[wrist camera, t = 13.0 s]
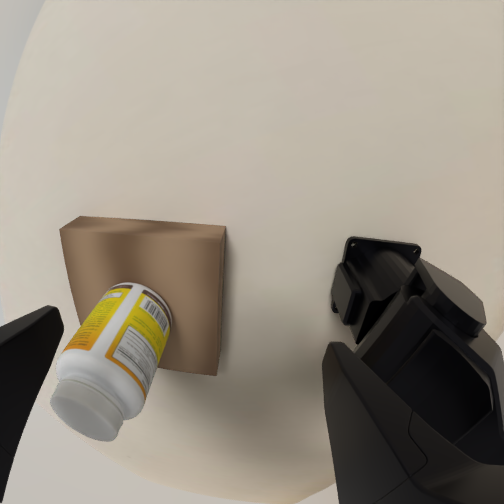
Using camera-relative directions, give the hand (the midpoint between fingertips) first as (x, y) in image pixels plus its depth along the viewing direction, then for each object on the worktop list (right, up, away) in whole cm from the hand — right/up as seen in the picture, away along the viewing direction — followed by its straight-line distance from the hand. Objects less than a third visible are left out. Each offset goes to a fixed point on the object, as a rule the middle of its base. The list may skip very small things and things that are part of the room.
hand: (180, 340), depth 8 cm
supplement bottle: (-6, -2, +12) cm, 14 cm away
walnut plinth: (-6, 0, +15) cm, 16 cm away
